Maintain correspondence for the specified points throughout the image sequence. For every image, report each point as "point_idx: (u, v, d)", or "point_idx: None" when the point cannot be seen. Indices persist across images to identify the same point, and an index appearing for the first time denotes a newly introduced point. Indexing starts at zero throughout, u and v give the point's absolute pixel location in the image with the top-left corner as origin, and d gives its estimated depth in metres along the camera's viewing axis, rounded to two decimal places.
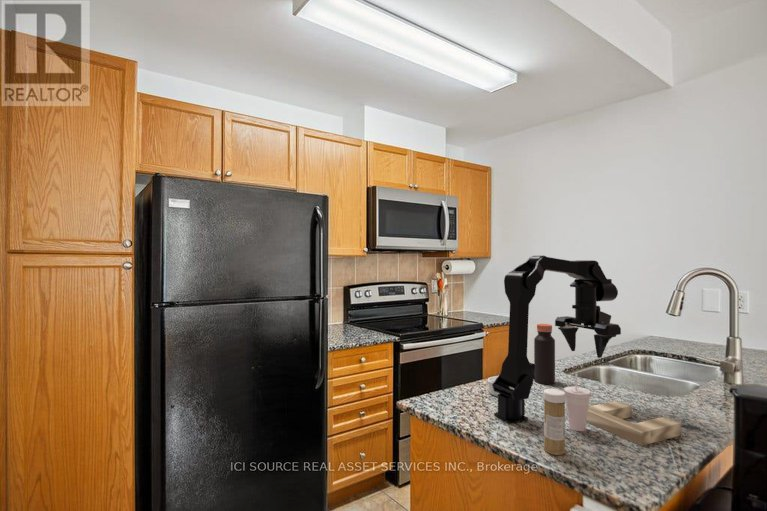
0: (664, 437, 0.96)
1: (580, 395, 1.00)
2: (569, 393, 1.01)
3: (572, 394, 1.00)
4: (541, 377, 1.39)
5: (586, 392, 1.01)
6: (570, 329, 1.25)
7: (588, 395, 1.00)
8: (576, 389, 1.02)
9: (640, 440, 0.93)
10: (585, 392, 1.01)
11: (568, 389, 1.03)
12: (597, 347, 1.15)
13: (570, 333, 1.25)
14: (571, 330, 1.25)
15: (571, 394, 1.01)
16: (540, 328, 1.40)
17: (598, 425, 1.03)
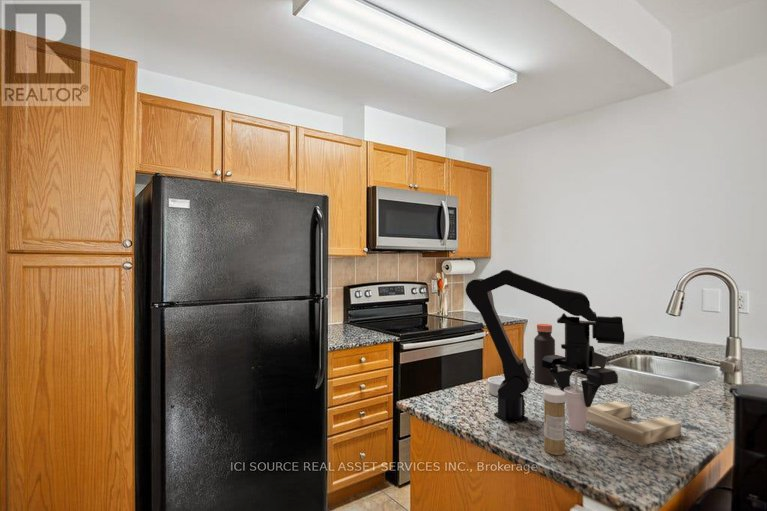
0: (664, 437, 0.96)
1: (580, 395, 1.00)
2: (569, 393, 1.01)
3: (572, 394, 1.00)
4: (541, 377, 1.39)
5: None
6: (563, 373, 1.06)
7: None
8: (576, 389, 1.02)
9: (640, 440, 0.93)
10: None
11: (568, 389, 1.03)
12: (585, 395, 0.98)
13: (563, 378, 1.06)
14: (564, 374, 1.06)
15: (571, 394, 1.01)
16: (540, 328, 1.40)
17: (598, 425, 1.03)
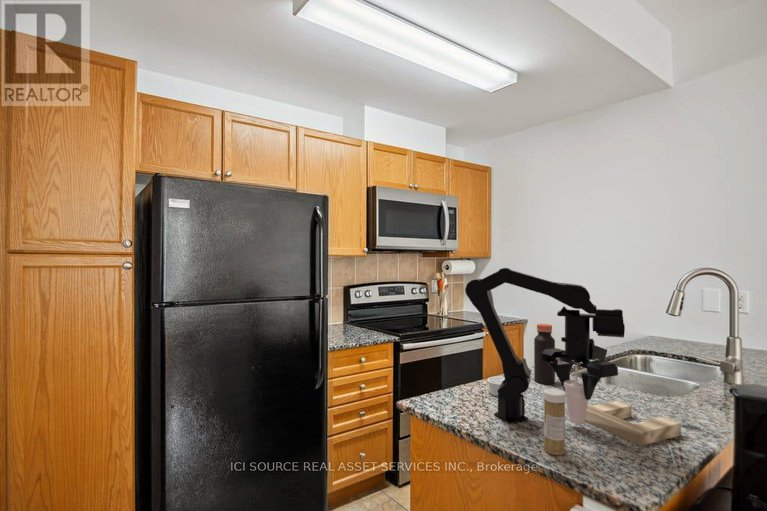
0: (664, 437, 0.96)
1: (580, 388, 1.00)
2: (569, 386, 1.01)
3: (572, 387, 1.00)
4: (541, 377, 1.39)
5: None
6: (563, 366, 1.06)
7: None
8: (576, 382, 1.02)
9: (640, 440, 0.93)
10: None
11: (568, 382, 1.03)
12: (585, 388, 0.98)
13: (563, 371, 1.06)
14: (564, 367, 1.06)
15: (571, 387, 1.01)
16: (540, 328, 1.40)
17: (598, 425, 1.03)
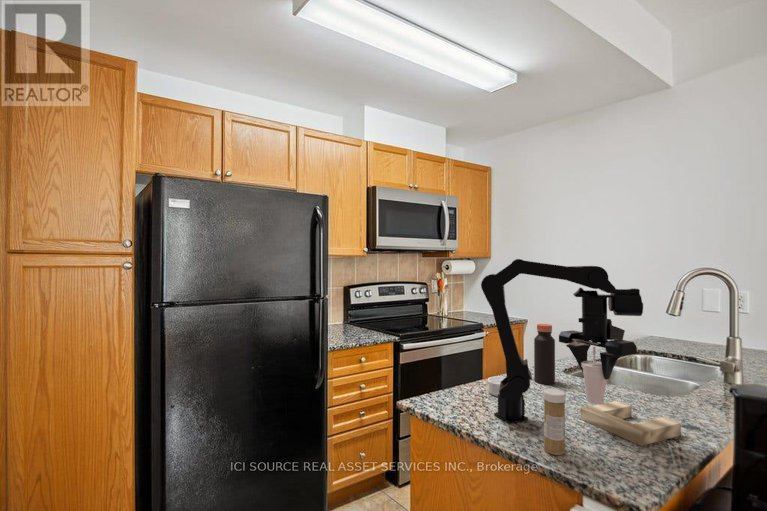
0: (664, 437, 0.96)
1: (598, 368, 1.00)
2: (587, 366, 1.01)
3: (590, 367, 1.01)
4: (541, 377, 1.39)
5: None
6: (581, 347, 1.06)
7: None
8: (594, 362, 1.02)
9: (640, 440, 0.93)
10: None
11: (586, 363, 1.04)
12: (604, 367, 0.98)
13: (581, 352, 1.06)
14: (582, 348, 1.06)
15: (589, 367, 1.01)
16: (540, 328, 1.40)
17: (598, 425, 1.03)
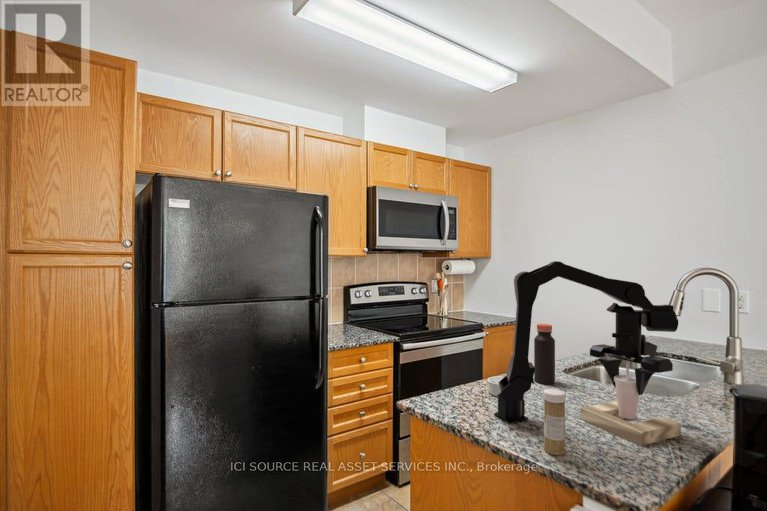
0: (664, 437, 0.96)
1: (632, 383, 1.01)
2: (621, 381, 1.02)
3: (624, 382, 1.01)
4: (541, 377, 1.39)
5: None
6: (613, 361, 1.07)
7: None
8: (627, 377, 1.03)
9: (640, 440, 0.93)
10: None
11: (619, 377, 1.04)
12: (638, 383, 0.99)
13: (613, 367, 1.07)
14: (614, 362, 1.07)
15: (623, 382, 1.02)
16: (540, 328, 1.40)
17: (598, 425, 1.03)
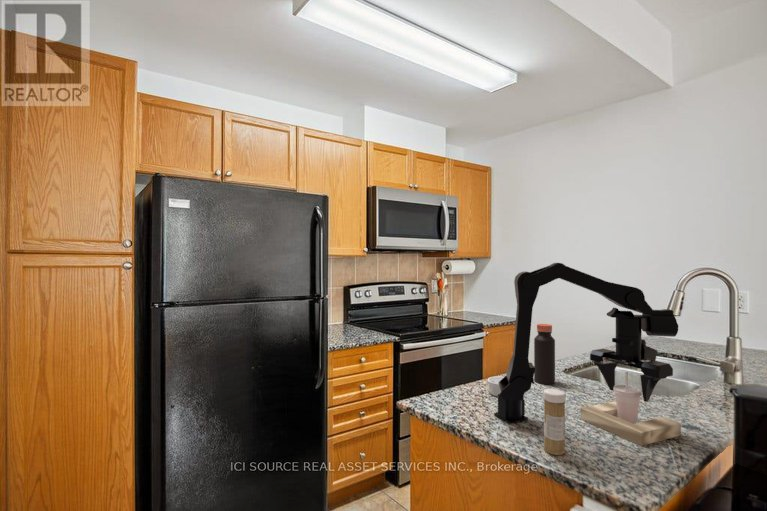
0: (664, 437, 0.96)
1: (632, 393, 1.01)
2: (620, 392, 1.02)
3: (623, 393, 1.02)
4: (541, 377, 1.39)
5: (637, 391, 1.02)
6: (608, 365, 1.08)
7: (639, 393, 1.01)
8: (627, 388, 1.03)
9: (640, 440, 0.93)
10: (636, 391, 1.02)
11: (618, 388, 1.05)
12: (644, 390, 0.98)
13: (609, 370, 1.08)
14: (610, 366, 1.08)
15: (622, 393, 1.02)
16: (540, 328, 1.40)
17: (598, 425, 1.03)
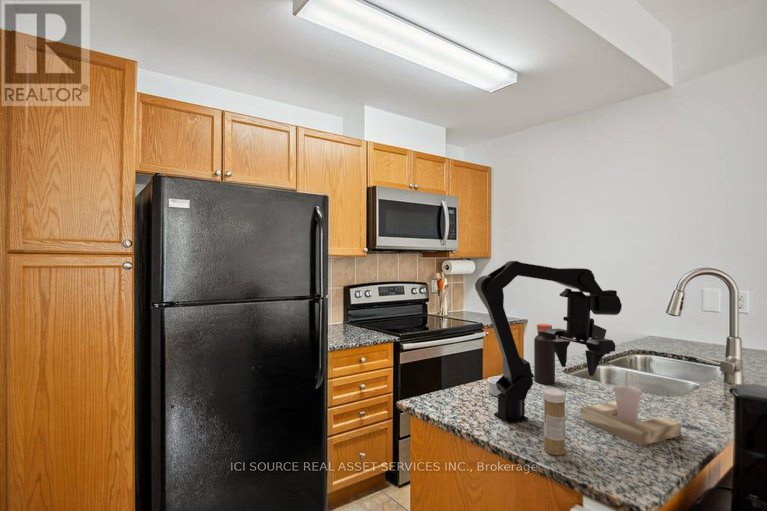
0: (664, 437, 0.96)
1: (632, 393, 1.01)
2: (620, 392, 1.02)
3: (623, 393, 1.02)
4: (541, 377, 1.39)
5: (637, 391, 1.02)
6: (561, 343, 1.14)
7: (639, 393, 1.01)
8: (627, 388, 1.03)
9: (640, 440, 0.93)
10: (636, 391, 1.02)
11: (618, 388, 1.05)
12: (589, 364, 1.04)
13: (561, 348, 1.14)
14: (562, 344, 1.14)
15: (622, 393, 1.02)
16: (540, 328, 1.40)
17: (598, 425, 1.03)
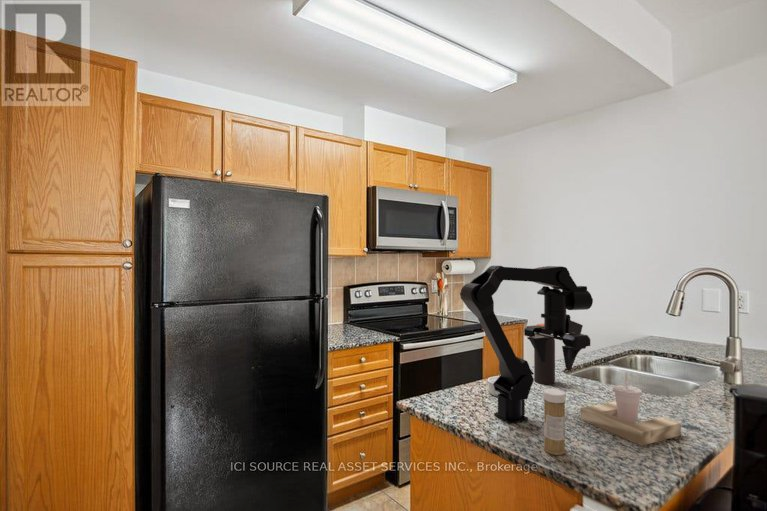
0: (664, 437, 0.96)
1: (632, 393, 1.01)
2: (620, 392, 1.02)
3: (623, 393, 1.02)
4: (541, 377, 1.39)
5: (637, 390, 1.02)
6: (540, 339, 1.17)
7: (639, 393, 1.01)
8: (626, 388, 1.03)
9: (640, 440, 0.93)
10: (636, 390, 1.02)
11: (618, 388, 1.05)
12: (566, 359, 1.07)
13: (540, 344, 1.17)
14: (541, 340, 1.18)
15: (622, 393, 1.02)
16: None
17: (598, 425, 1.03)
